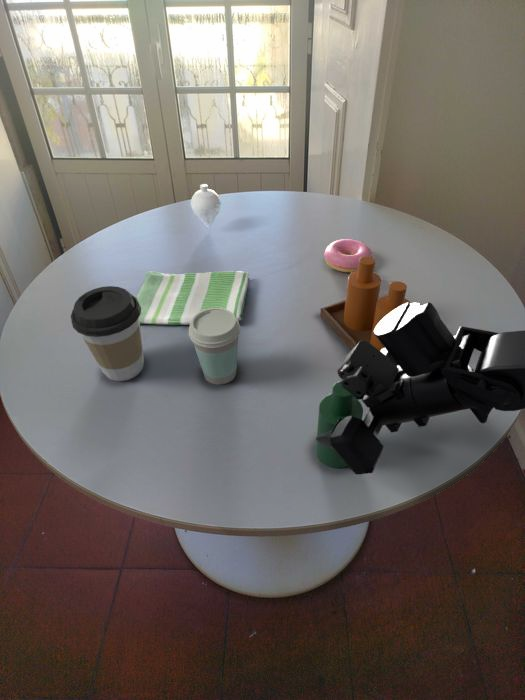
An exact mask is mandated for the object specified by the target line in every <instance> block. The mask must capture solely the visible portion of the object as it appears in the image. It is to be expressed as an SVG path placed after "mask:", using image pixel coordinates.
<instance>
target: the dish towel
mask: <svg viewBox="0 0 525 700" xmlns="http://www.w3.org/2000/svg"><path fill="white" fill-rule="evenodd" d="M249 276H250V274H249V272H246V271H243V270H238V271H237V270H234V271H209V272H208V271H207V272H190V273H182V274H177V273H176V274H175V273H162V272H157V271H153V270H149V271H147V272H146V275H145V278H144V281H143V285H142V287H141V288H140V290H139V292H138V293H137V296H135V297H136V298H137V300H138V302H139V304H140V306H141V314H140V316H139V320H140V324H144V325H145V324H149V325H170V326H174V325H177V326H179V325H186V326H188V325H189V326H190V324H191V320H192V318H193V317H194V316H195V315H196V314H197V313H199V312H200V311H202V310H205V309H209V308H223V309H226V310H229V311H230V312H232V313H233V314H234V315H235V317H236V319H237V320H238V322H240V321H242V320H243V313H244V308H245V302H246V298H247V291H248V287H249V283H250V277H249Z"/></svg>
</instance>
